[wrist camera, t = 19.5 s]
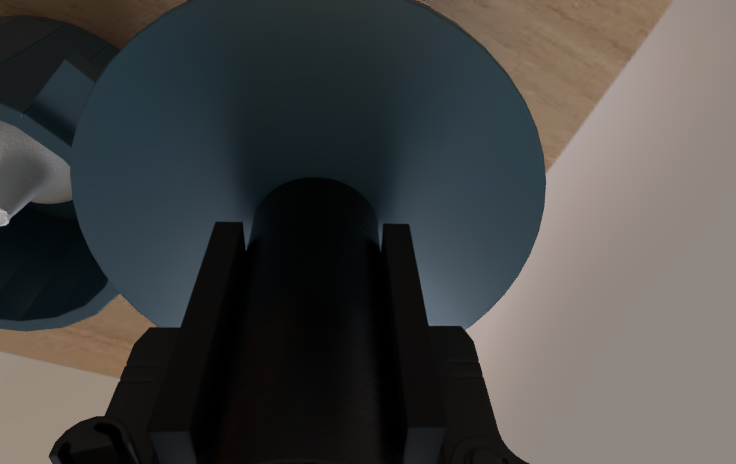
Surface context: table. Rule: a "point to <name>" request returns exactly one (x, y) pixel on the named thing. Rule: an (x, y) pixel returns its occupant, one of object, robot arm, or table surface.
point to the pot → (56, 132)
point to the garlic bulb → (29, 173)
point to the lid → (307, 200)
